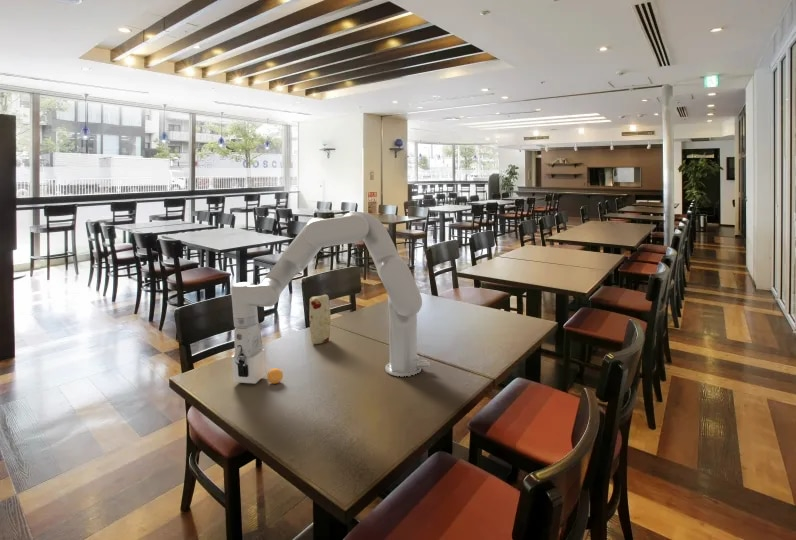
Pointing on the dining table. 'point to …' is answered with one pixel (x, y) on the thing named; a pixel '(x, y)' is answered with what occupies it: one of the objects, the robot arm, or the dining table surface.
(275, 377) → the ball
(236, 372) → the off-white matte cube
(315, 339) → the food model
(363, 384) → the dining table surface
